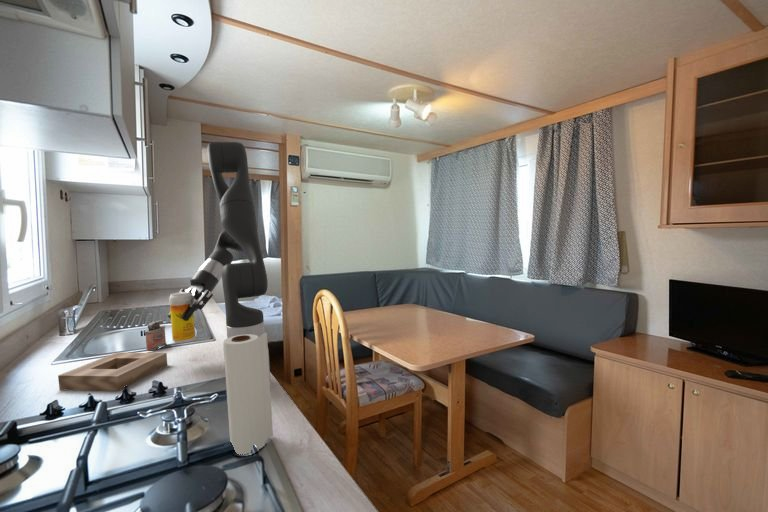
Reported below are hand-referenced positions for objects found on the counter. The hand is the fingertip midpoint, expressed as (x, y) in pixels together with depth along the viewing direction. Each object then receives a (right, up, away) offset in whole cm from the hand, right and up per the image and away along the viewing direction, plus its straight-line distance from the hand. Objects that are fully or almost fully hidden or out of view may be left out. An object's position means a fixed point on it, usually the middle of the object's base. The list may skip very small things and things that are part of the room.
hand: (177, 318), depth 107 cm
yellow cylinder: (+1, -7, +2) cm, 8 cm away
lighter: (-21, -15, +22) cm, 34 cm away
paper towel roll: (+38, -17, -41) cm, 59 cm away
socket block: (-16, -17, -3) cm, 23 cm away
